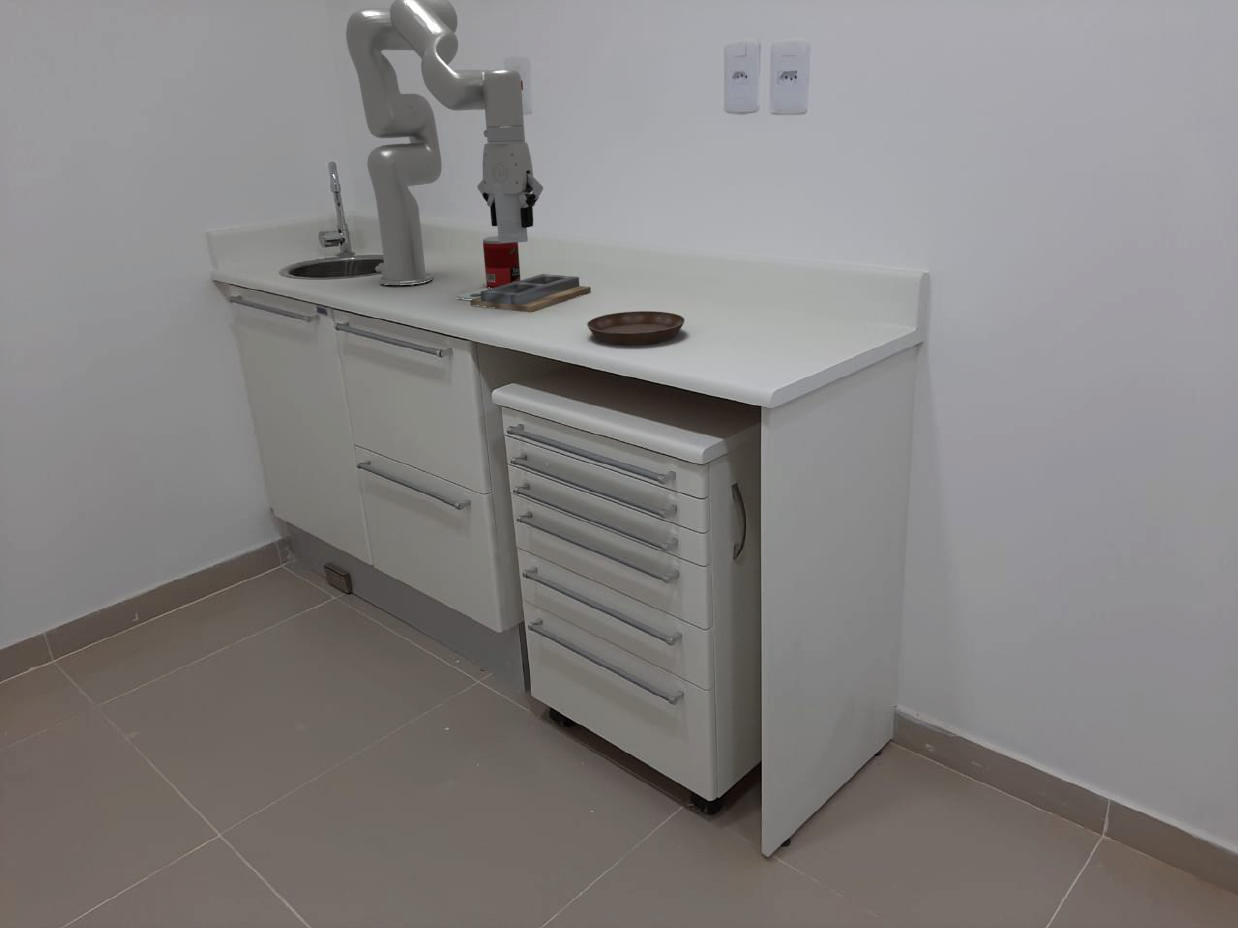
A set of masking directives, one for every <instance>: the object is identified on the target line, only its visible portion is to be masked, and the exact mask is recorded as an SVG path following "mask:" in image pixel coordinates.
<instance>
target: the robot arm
mask: <svg viewBox="0 0 1238 928" xmlns="http://www.w3.org/2000/svg"><path fill="white" fill-rule="evenodd" d="M458 23H459V22H458V14H457V11H456V10H455V7H454V6H453V4H452V3H451V1H449V0H393V2H392V3H391V5H390V8H388V7H367V8H366V7H365V8H362V9H361V8H360V9H358V10H356V11H354V12H352V14H351V15H350V16H349V18H348V20H347V23H346V30H345V31H346V32H345V34H346V35H345V36H346V37H345V38H346V44H347V49H348V52H349V56H350V57H351V58H350V59H351V60H352V63H353V67H354V68H355V70H356V74H357V78H358V82H359V83H358V84H359V89H360V94H361V99H362V105H363V111H364V116H365V120H366V125H367V128H368V130H369V132H370V134H371V135H372V136H373V137H375V138H378V139H399V138H408V139H409V142H410V143H408V142H407V143H393V144H390V143H389V144H385V145H384V144H383V145H380V146H378V147H377V146H376V147H375V148H374V149H372V151H371V152H370V153H369V155H368V158H367V163H366V164H367V170H368V175H369V177H370V178H369V179H370V180H371V183H372V184H371V185H372V187H373V192H374V195H375V200H376V208H377V209H376V210H377V217H378V224H379V233H380V240H381V249H382V256H383V257H382V258H383V262H380V263H379V264H378V265H376V266H375V268H374V269H375V271H376V272H380V273H382V276H381V277H380V278H379V284H380V283H382V284H388V285H397V284H398V285H400V284H412V283H420V282H424V281H428V280H431V279H432V278H433V275H432V274H431V273H427V272H426V265H425V257H424V256H425V255H424V246H423V236H422V227H421V217H420V209H419V204H418V202H417V200H416V198H415V196H414V195H413V194H412V193H411V190H410V189H409V187H412V186H413V187H414V186H422V185H423V186H424V185H430V184H433V183H435V182H437V181H438V180H439V178H440V177H441V174H442V171H443V170H442V169H443V168H442V167H443V166H442V154H441V149H440V144H439V143H440V142H439V137H438V131H437V129H438V128H437V125H436V124H437V123H436V119H435V113H434V110H433V107H432V105H431V104H430V103H429V101H428V100H427V99H426V97H424V96H423V95H420V94H417V93H401V91H400V87H399V81H398V76H397V73H396V70H395V68H394V66H393V65H392V63H391V61H389V59H388V58H387V56H385V55H384V54H383V52H382V51H414V52H415V54H417V56H419V58H420V59H421V62H420V67H421V69H420V70H421V75H422V79H423V82H424V85H425V87H426V88H427V90H428V92H429V93H430V94H431V95H432V96H433V97H434V98H435V99H436V100H437V101H438V103H440V104H441V105H442V106H443V107H445V108H447V109H448V110H452V111H471V110H473V111H477V110H479V111H481V110H482V111H483V110H484V115H485V125H486V129H484V131H483V136H484V137H485V138H487V139H486V141H487V143H484V145H483V153H482V179H481V181H480V182H479V183H478V184H477V189H478V192H480V194H481V196H482V198H483V199H484V201H485V202H486V205H487V207H489V208H490V209H489V210H490V220H491V226H492V227H497V218H496V207H495V197H494V187H493V184H494V183H500V184H501V191H502V194H504V195H518V198H519V200H520V202H521V204H522V206H523V208H521V209H520V213H521V226H522V228H527V229H528V228H531V227H534V210H533V209H534V207H535V205H536V202H537V201H538V200H539V198H540V196H541V194H542V193H543V190H544V186H543V185H542V184H541V183H540V182H539V181H538V180H537V179H536V178H535V177H534V171H533V162H532V158H531V157H532V156H531V153H530V148H529V144H528V142H526V137H525V135H526V134H525V123H524V119H525V117H524V108H523V107H524V105H523V94H522V93H523V92H522V91H523V90H522V89H523V88H522V78H521V77H522V76H521V74H520V72H519V71H517V70H516V69H511V68H510V69H509V68H508V69H504V68H503V69H456V70H455V69H453V68H451V67H450V66H449V64H450V63H451V62H452V61H453V60H454V58H455V57H456V55H457V53H458V50H459V49H458V48H459V41H458V37H457V36H456V34H455V32H456V31H457V27H458Z"/></svg>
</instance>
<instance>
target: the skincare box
mask: <svg viewBox="0 0 1238 928" xmlns="http://www.w3.org/2000/svg"><path fill="white" fill-rule="evenodd" d="M493 187H494V197H495V207H496V218H497V226H496V228H497V236H498V239H499V243H512V242H518V243H524V242H525V243H526V242H528V239H529V238H528V227H527V228H522V226H521V213H520V209H521V208H523V206H522V204H521V202H520V200H519V198H518V195H504V194H502V191H501V184H500V183H494V184H493Z"/></svg>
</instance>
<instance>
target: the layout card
mask: <svg viewBox="0 0 1238 928" xmlns="http://www.w3.org/2000/svg"><path fill="white" fill-rule="evenodd" d="M488 289H489V288H488V287H487V288H483V289H478V290H474V291H471V292H467V293H464V294H463V293H462V294H459V295H456V296H455V297H457V298H464V299H475V298H479V297H481V293H480V292H481V291H485V290H488Z"/></svg>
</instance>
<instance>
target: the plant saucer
mask: <svg viewBox="0 0 1238 928" xmlns="http://www.w3.org/2000/svg"><path fill="white" fill-rule="evenodd" d="M684 324H685V318H684V317H683V316H682V315H680V314H676V313H673V312H672V313H671V312H667V311H666V312H664V311H652V310H645V311H644V310H641V311H639V310H638V311H637V310H636V311H623V312H622V311H621V312H615V313H609V314H605V315H601V316H597V317H594V318H592V319H590V320H589V321H587V323H586V326H587V327H588V329H589V331H590V332H591V334H592V335H593V336H594V337H595V338H596V339H598V340H599V341H600V342H603V343H605V344H611V345H619V346H642V345H651V344H652V345H653V344H659V343H663V342H666V341H669V340H671V339H672V338H674V337H675V336H676V335H677V334H678V332H679V331H680V330H681V329H682V327H683V325H684Z"/></svg>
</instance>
